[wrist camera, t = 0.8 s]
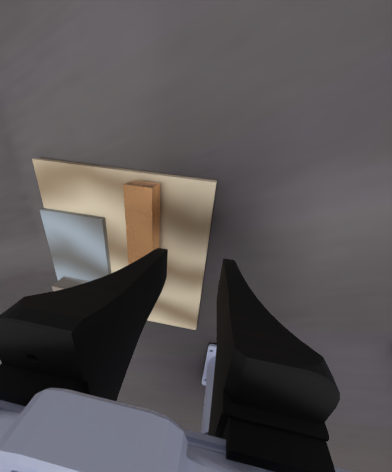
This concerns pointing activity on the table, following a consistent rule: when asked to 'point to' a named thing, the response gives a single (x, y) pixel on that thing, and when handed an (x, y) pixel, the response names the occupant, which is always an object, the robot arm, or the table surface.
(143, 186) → the bar
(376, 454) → the table surface
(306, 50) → the table surface
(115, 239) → the door frame board
